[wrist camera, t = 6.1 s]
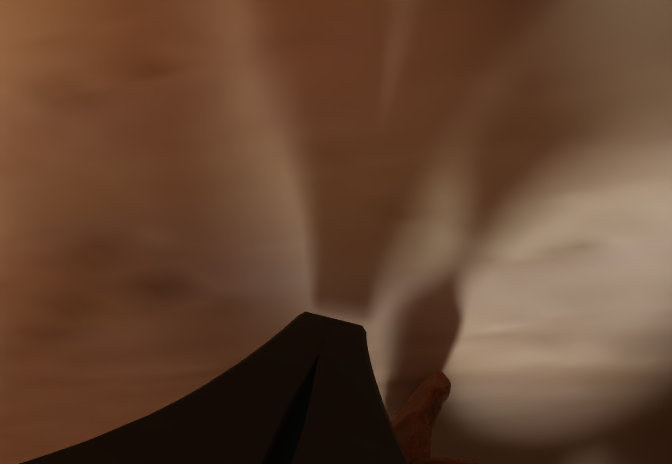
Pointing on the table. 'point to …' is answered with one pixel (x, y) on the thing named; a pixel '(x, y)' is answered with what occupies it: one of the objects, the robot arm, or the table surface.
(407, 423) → the pottery mug
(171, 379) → the table surface
